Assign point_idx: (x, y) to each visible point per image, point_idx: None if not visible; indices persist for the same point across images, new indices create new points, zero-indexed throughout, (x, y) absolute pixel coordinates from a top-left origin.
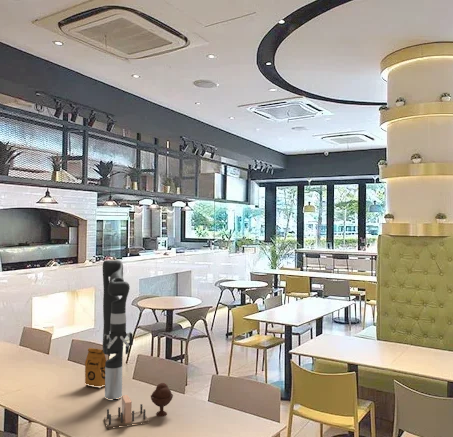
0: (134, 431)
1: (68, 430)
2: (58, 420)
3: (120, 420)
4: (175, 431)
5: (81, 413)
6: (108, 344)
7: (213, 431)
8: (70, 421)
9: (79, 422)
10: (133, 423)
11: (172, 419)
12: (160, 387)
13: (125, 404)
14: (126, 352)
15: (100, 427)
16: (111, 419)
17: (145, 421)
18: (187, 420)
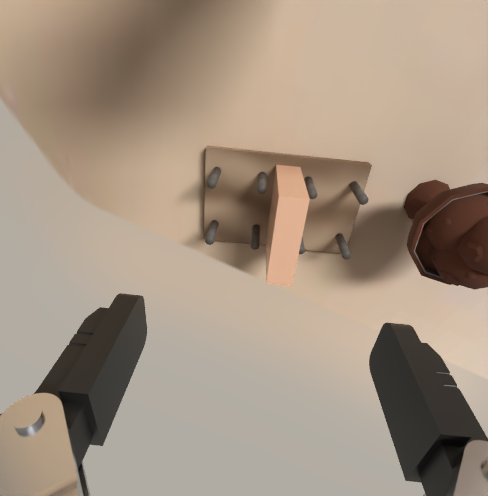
0: None
1: (76, 183)
2: (16, 59)
3: (257, 210)
4: None
5: (113, 13)
6: (17, 478)
7: (466, 364)
8: (72, 98)
9: (110, 128)
10: None
11: None
12: (480, 270)
13: (266, 277)
14: (378, 385)
15: (185, 209)
16: (228, 186)
17: (334, 252)
18: None
